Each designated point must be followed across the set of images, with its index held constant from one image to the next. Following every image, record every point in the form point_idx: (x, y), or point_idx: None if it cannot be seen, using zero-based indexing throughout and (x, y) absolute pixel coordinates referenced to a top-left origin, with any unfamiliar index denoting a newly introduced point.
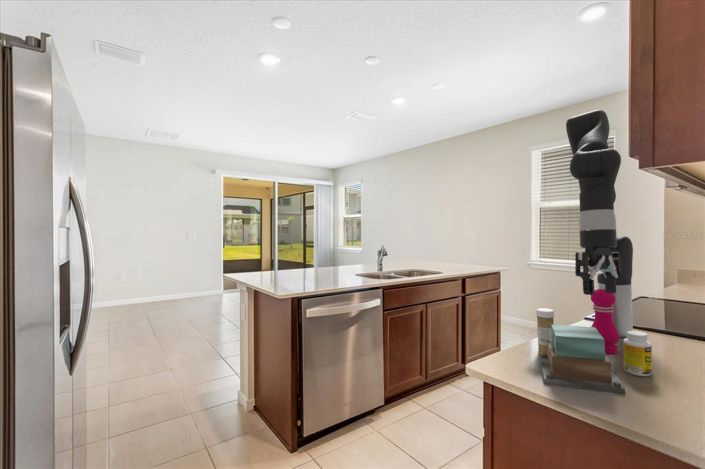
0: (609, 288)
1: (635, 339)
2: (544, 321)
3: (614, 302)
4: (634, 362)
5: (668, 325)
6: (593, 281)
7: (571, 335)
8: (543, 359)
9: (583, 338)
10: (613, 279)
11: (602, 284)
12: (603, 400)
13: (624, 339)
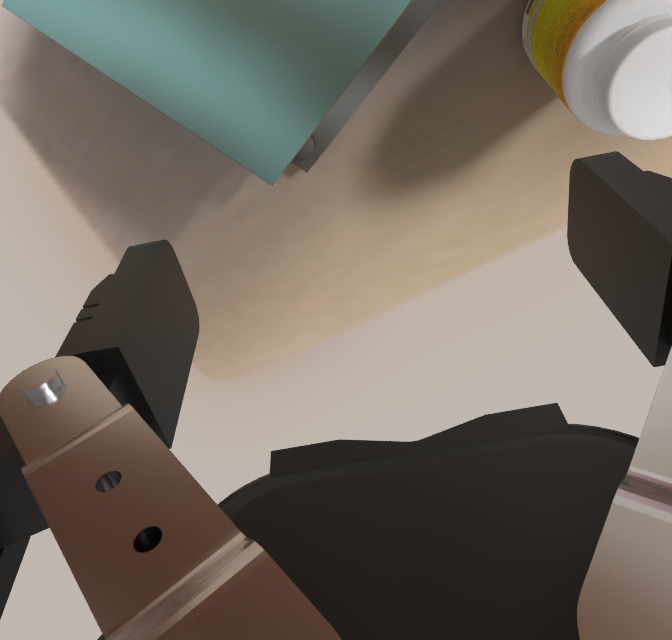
0: (595, 225)
1: (598, 103)
2: None
3: None
4: (537, 65)
5: None
6: (166, 430)
7: (124, 45)
8: None
9: (171, 117)
10: (652, 349)
11: None
12: (190, 173)
13: (613, 13)
